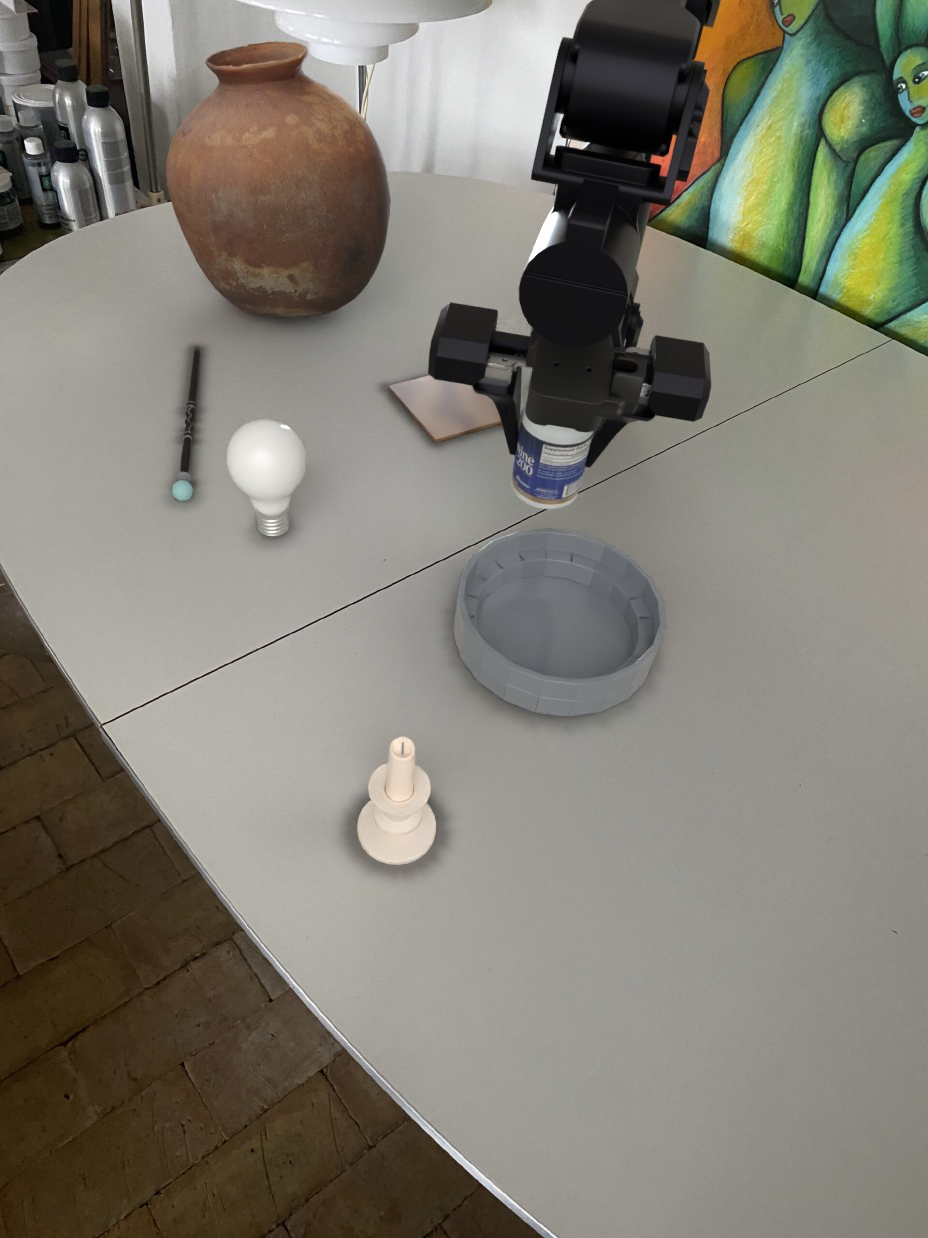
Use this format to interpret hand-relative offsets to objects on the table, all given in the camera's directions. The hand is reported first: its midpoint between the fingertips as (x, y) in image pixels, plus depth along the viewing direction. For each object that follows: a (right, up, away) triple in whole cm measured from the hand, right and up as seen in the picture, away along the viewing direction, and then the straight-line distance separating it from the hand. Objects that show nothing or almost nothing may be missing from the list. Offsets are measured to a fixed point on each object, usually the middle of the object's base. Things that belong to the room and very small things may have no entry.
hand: (549, 457), depth 66 cm
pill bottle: (0, -2, +2) cm, 3 cm away
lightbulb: (-23, -5, +10) cm, 25 cm away
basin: (+1, -14, +4) cm, 14 cm away
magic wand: (-33, +7, +19) cm, 39 cm away
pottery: (-27, +25, +36) cm, 51 cm away
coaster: (-8, +10, +24) cm, 28 cm away
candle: (-11, -26, -8) cm, 30 cm away
